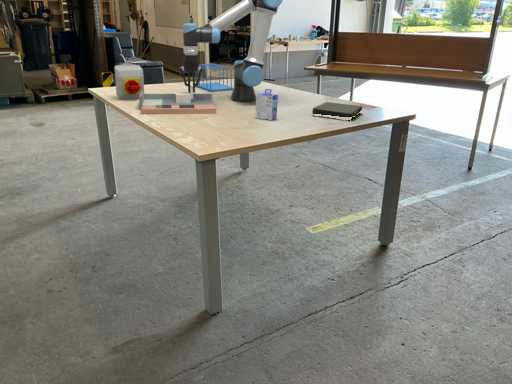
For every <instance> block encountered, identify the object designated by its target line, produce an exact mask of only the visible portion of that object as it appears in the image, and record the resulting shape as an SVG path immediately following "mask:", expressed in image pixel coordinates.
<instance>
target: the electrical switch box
mask: <svg viewBox="0 0 512 384" xmlns="http://www.w3.org/2000/svg"><path fill="white" fill-rule="evenodd" d="M144 76H145V75H144V70H143V67H141V66H140V65H139V64H134V63H133V64H132V63H122V64H117V65H115V66H114V78H115V91H116V92H115V94H116V96H117V98H118V100H120V101H124V100H127V101H128V100H139V95H140V93H141V91H144V92H145V81H144V80H145V78H144Z"/></svg>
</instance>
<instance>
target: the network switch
mask: <svg viewBox="0 0 512 384" xmlns="http://www.w3.org/2000/svg"><path fill="white" fill-rule="evenodd" d="M361 110H362V111H363V106H362V105H355V104H349V103H348V104H347V103H337V102H329V101H326V102H325V101H324V102H323V103H321V104H319V105H316V106H315V107H313V108H312V115H313V114H321V115H331V116H339V117H353V116H356V115H357V114H358V113H359V112H360V111H361Z"/></svg>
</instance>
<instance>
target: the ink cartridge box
mask: <svg viewBox="0 0 512 384" xmlns="http://www.w3.org/2000/svg"><path fill="white" fill-rule="evenodd" d="M255 95H256V100H255V118H256V119H260V118H261V119H260V120H265V119H268V120H267V121H273V119H275V120H277V119H278V101H279V100H278V99H279V95H278V94H273V93H272V89H271V88H270V89H269V88H265V90H264V92H262V93H261V92H260V93H255ZM276 118H277V119H276Z"/></svg>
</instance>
